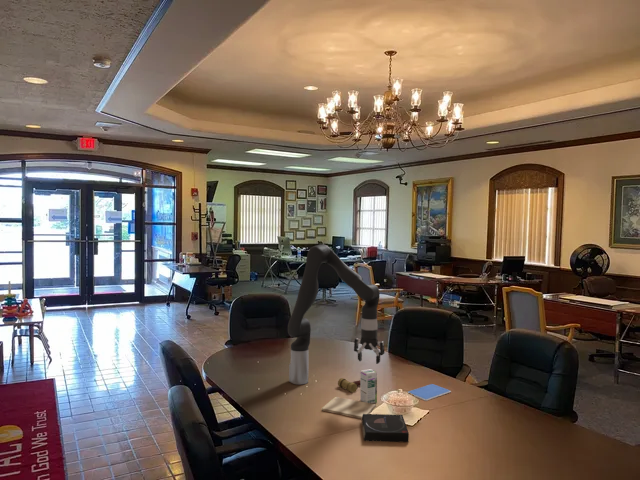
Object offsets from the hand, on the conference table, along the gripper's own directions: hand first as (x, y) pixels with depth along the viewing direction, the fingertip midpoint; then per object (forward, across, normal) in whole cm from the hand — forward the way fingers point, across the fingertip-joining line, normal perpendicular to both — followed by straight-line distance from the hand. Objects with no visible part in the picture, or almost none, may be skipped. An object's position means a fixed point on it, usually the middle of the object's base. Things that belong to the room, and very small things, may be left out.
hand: (368, 362), depth 214 cm
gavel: (+19, -11, +17) cm, 28 cm away
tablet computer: (+20, +23, +24) cm, 38 cm away
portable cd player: (+19, +16, -26) cm, 36 cm away
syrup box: (+19, 0, 0) cm, 19 cm away
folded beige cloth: (+19, -5, -12) cm, 22 cm away
